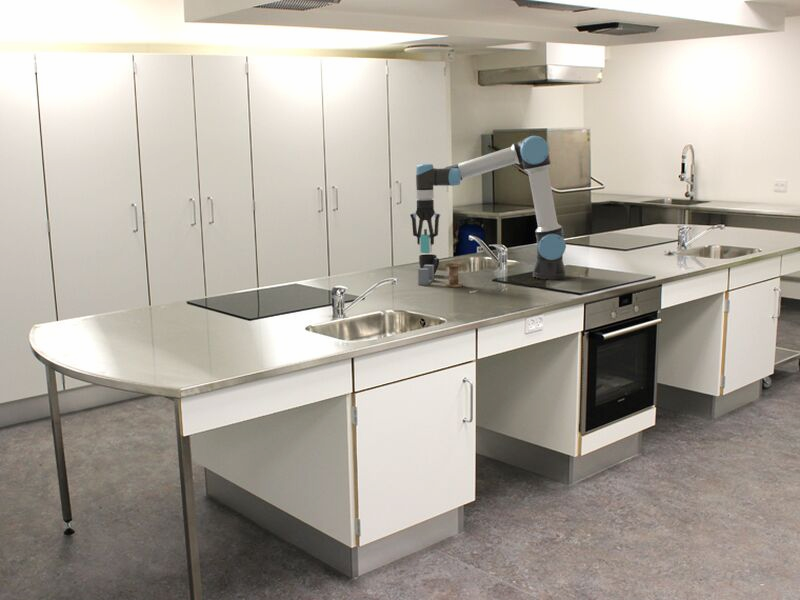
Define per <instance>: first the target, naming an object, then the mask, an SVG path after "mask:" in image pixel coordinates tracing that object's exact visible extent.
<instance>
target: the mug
mask: <svg viewBox="0 0 800 600" xmlns="http://www.w3.org/2000/svg"><path fill="white" fill-rule="evenodd" d="M418 263H419V269H420V268H424V265H434V275H435V274H436V272H437V270H438V268H439V265H440V259H439V258H437V254H433V253H432V254H430V253H424V254H420V255H418Z"/></svg>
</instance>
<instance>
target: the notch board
mask: <svg viewBox="0 0 800 600" xmlns="http://www.w3.org/2000/svg"><path fill="white" fill-rule="evenodd" d="M417 273H418V274H417V275H418V278H417V279H418V280H417V281H418V282H417V283H418V284H417V285H418V286H429V284H430V283H431V284H432V282H433V281H435V274H434V265H424V268H420V267H419V268H418V269H417Z"/></svg>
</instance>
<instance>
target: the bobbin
mask: <svg viewBox="0 0 800 600" xmlns="http://www.w3.org/2000/svg"><path fill="white" fill-rule="evenodd" d="M463 265H464V263H463V262H461V261H459V262H458V261H449V262H444V267H447V268H448V272H449V273H448V276H449V277H448V282H445V283H444V287H445V288H462V287H464V283H463V282H459V267H463Z"/></svg>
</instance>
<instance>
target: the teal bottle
mask: <svg viewBox="0 0 800 600" xmlns="http://www.w3.org/2000/svg"><path fill="white" fill-rule="evenodd" d="M427 231H428V229H427V228H424V230H423V233H421V252H420V253H421V254H430V253H431V252H429V237H430V233H428V232H427Z"/></svg>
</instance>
